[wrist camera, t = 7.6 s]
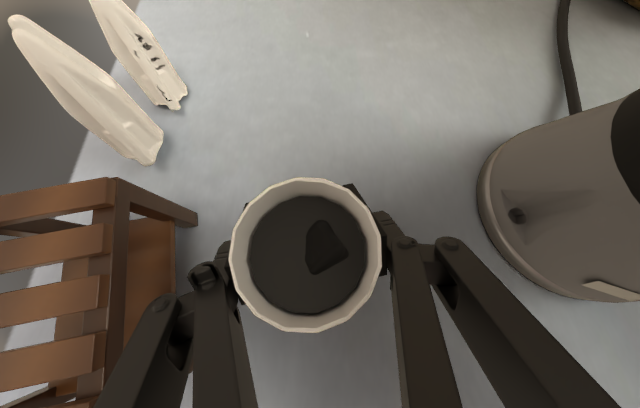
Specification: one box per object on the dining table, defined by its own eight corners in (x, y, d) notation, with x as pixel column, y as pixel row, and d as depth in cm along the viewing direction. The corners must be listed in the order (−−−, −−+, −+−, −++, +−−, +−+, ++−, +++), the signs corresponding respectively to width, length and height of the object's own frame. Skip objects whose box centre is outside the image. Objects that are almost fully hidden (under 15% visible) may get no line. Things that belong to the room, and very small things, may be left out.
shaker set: (167, 175, 22) (17, 84, 11) (124, 173, 22) (-65, 80, 11) (195, 76, 25) (102, -68, 14) (158, 74, 25) (38, -71, 14)
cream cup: (325, 207, 21) (330, 152, 11) (367, 272, 19) (414, 274, 9) (260, 245, 20) (203, 222, 10) (298, 317, 18) (273, 371, 8)
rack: (197, 213, 21) (107, 172, 12) (203, 362, 17) (85, 456, 9) (95, 231, 20) (-75, 203, 11) (82, 389, 17) (-173, 515, 8)
